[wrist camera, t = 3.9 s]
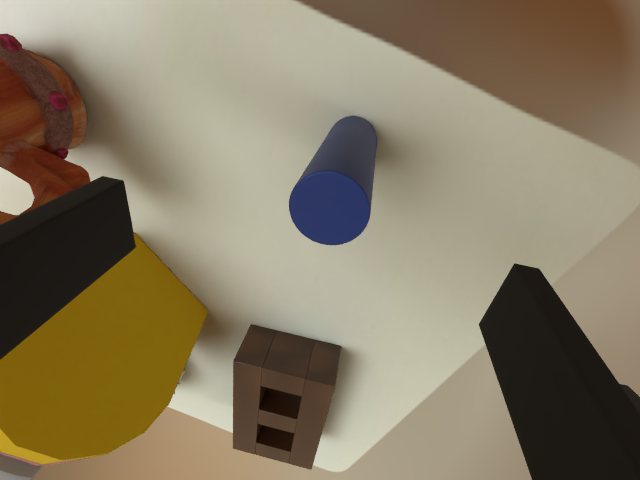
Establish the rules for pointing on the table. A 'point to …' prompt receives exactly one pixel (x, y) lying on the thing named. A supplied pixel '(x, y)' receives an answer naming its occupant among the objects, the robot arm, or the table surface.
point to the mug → (39, 123)
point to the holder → (282, 394)
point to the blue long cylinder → (337, 185)
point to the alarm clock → (97, 367)
